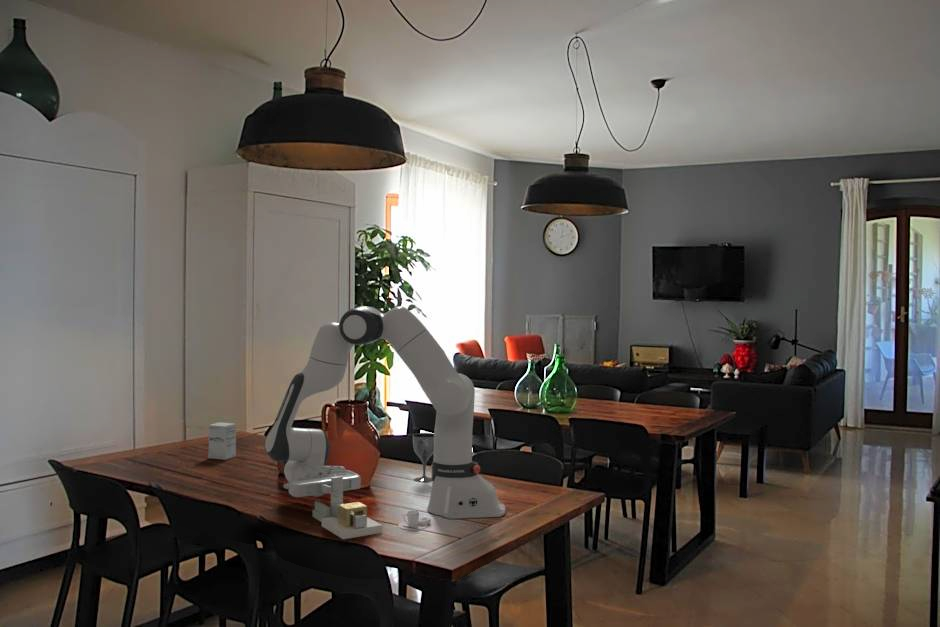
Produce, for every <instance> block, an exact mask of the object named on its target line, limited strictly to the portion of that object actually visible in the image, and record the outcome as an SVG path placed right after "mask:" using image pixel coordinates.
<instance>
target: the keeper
mask: <svg viewBox="0 0 940 627" xmlns="http://www.w3.org/2000/svg"><path fill="white" fill-rule="evenodd" d="M352 511H358V512H360V513H362V514H364V515H366V524H367V517H368V505H366V504H364V503H362V502H360V501H356V502H355V501H354V502H348V503H343V504H340V505H338V523H339V524H341V525H343V526H344V527H346V528H348V527H350V512H352Z"/></svg>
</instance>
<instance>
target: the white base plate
mask: <svg viewBox="0 0 940 627" xmlns="http://www.w3.org/2000/svg"><path fill="white" fill-rule="evenodd" d="M321 527H322V528H324V529H325V530H326V531H329V532H330V533H332V534H333V535H335V536H337V537H338V538H340V539H342V540H346V539H353V538H359V537H366V536H370V535H375V534H382V533H383V524H381V523H379V522H377V521H376V520H374V519H371V518H370V517H368V516H367V524H366V526H365V527H359V528H355V527H353V526H352V525H350V527H348V528H346V527H344V526H343V525H341V524H339V523H338V518H337V517H336V516H335V517H329V518H323V519H322V522H321Z"/></svg>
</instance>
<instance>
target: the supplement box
mask: <svg viewBox="0 0 940 627" xmlns="http://www.w3.org/2000/svg"><path fill="white" fill-rule="evenodd" d="M236 453H237V424H236V423H232V422H214V423H211V424H209V425H208V455H207V456H208V459H214V460H223V461H226V460H230V459H233V458H234V457H236V455H237V454H236Z"/></svg>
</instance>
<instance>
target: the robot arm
mask: <svg viewBox="0 0 940 627" xmlns="http://www.w3.org/2000/svg"><path fill="white" fill-rule="evenodd" d="M382 339H383V340H384V341H386V342H387V343H389V345H390V346H391V347H392V348H393V349H394V351H395V352H396V353H397V355H398V356H399V358H400V359H401V360H402V362H404V364H405V365H406V367H407V368H408V369H409V371H411V373H412V374H413V376H414V378H416V379H415V380H416V381H417V382H418V384H419V386H420V388H421V389H422V391H423V392H424V394H425V395H426V397H427V399H428V400H429V401H430V403H431V405H432V406H433V409H434V410H435V411H436V412H435V413H436V414H435V421H434V422H435V423H434V432H433V434H434V453H433V460H432V461H431V476H430V478H432V483H431V491H430V492H431V493H430V496H429V502H428V506H427V509H426V510H427V511H428V512H429V513H430V514H433V515H437V516H441V517H444V518H446V519H451V520H455V519H473V518H474V519H475V518H478V519H479V518H499V517H502V516H504V515H505V514H506V506H505V504H504V503H503V502H501V501H499V498H498V492H497V490H496V488H495V487H494V485H493V484H491V483H490V482H489V481H488V480H486V479H485V478H484V477H482V476H481V475H480V474H479V473H480V472H481V466H480V465H479V463H478V462H477V461H474V460H472V459H473V428H474V414H475V412H474V411H475V397H476V396H475V395H476V394H475V393H476V391H475V390H476V389H475V385H474V383H473V381H472V380H471V379H470V378H469V377H468V376H467V375H465V374H463V373H460V372H457V370H456V369H455V367H454V366H453V364H452V362H451V360H450V359H449V357H448V356H447V354H446V352H445V350H444V349H443V348H442V347H441V346H440V344H439V342H438V341H437V340H436V339H435V337H434V336H433V335H432V334H431V332H430V331H429V330H428V329H427V327H425V325H424V324H423V323H422V321H421V320H419V318H417V316H416V315H415V314H413V313H412V312H411V311H410V309H408V308H406V307H405V306H395V307H392V308H390V309H389V310H387V312H384V311H383V310H382V309H380V308H378V307H375V306H365V305H362V306H358V307H353V308H350V309H348V310H347V311H345V313H344V314H343V315H342V317H341V318H340V321H339V322H334V321H332V322H327V323H324V324H322V325H321V326H320V327H319V329H318V331H317V333H316V335H315V338H314V341H313V343H312V346H311V350H310V354H309V358H308V361H307V364H306V365H305V366H304V368H303V369H302V371H300V372H299V373H297V374H295V375H294V377H292V380H291V381H290V383H289V386H288V388H287V390H286V393H285V394H284V397H283V400H282V403H281V405H280V408H279V409H278V412H277V415H276V418H275V419H274V422H273V423H272V426H271V427H270V430H269V431H268V433H267V435H266V437H265V442H264V450H265V451H264V452H265V453H266V454H267V455H268V457H269V458H270V459H271V460H272V461H274V462H277V463H278V462H286V463H285V465H284V469H283V470H284V471H283V472H284V476H285V479H286V480H287V483H283V488H284V489H286V490H288V493H289V495H291V496H292V497H294V498H304V497H310V496H311V497H313V498H318V497H322V496H324V495H325V494H330V495H331V477H337V476H342V477H343V492H345V491H353V490H359V489H360V488H361V486H362V479H361V475H359V474H358V473H356V472H354V471H352V470H349V469H346V467H345V466H342V465H326V464H327V463H328V460H329V457H330V452H331V442H330V440H329V437H328V435H327V434H326V433H325V431H324V430H323V429H318V428H308V427H306V428H305V427H303V428H302V427H292V426H293V423H294V421H295V420H296V419H295V418H296V417H297V416H296V415H297V413H298V411H299V408H300V406H301V404H302V403H303V401H305V400H306V399H307V398H309V397H311V396H314V395H316V394H319V393H323V392H327V391H330V390H331V389H333V388H335V387H338V385H339V384H340V383H341V382H342V381H343V380H344V377H345V374H346V369H347V365H348V361H349V356H350V353H351V350H352V348H353V347H354V346H362V345H363V346H364V345H370V344H373V343H375V342H378V341H379V340H382Z"/></svg>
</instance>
